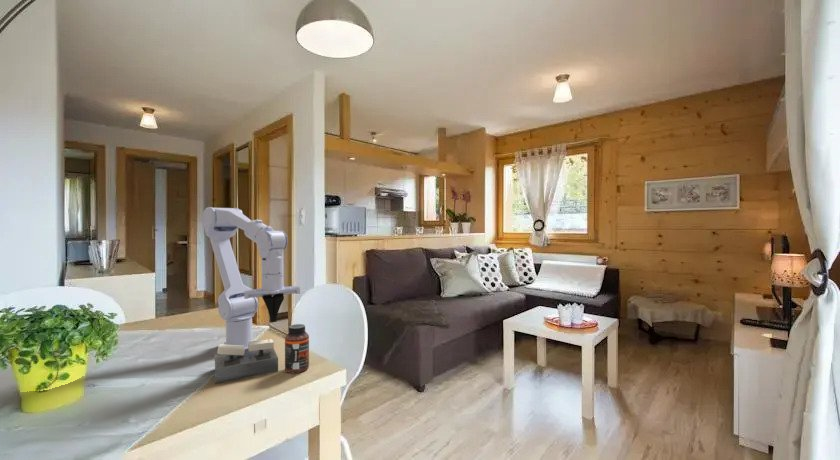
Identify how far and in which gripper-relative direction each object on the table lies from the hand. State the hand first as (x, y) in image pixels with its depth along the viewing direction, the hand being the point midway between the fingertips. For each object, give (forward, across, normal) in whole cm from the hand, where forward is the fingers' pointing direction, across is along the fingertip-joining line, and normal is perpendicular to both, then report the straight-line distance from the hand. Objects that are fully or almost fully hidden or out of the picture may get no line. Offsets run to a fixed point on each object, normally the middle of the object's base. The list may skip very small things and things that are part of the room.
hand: (273, 321), depth 100 cm
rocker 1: (+5, -11, -4) cm, 12 cm away
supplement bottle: (+10, +4, -12) cm, 16 cm away
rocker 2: (+5, -4, -4) cm, 7 cm away
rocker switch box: (+10, -7, -6) cm, 14 cm away
